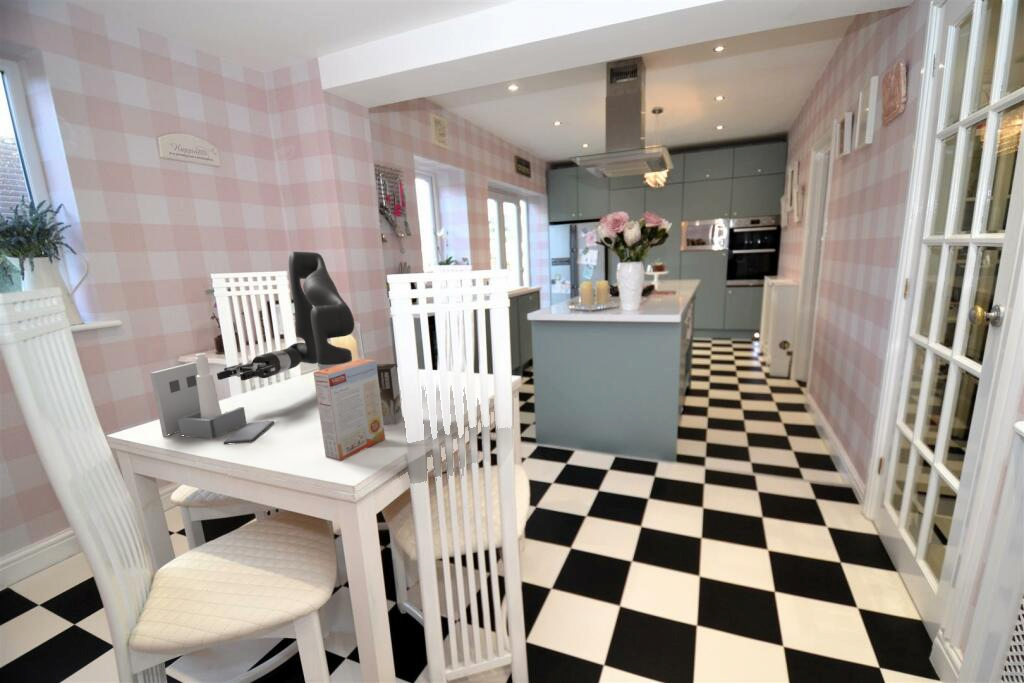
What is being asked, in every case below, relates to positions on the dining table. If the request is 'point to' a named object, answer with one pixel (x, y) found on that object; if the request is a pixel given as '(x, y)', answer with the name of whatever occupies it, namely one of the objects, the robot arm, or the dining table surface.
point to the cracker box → (349, 407)
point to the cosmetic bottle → (206, 389)
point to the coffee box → (389, 393)
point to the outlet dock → (188, 405)
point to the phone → (249, 432)
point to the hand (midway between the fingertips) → (229, 376)
